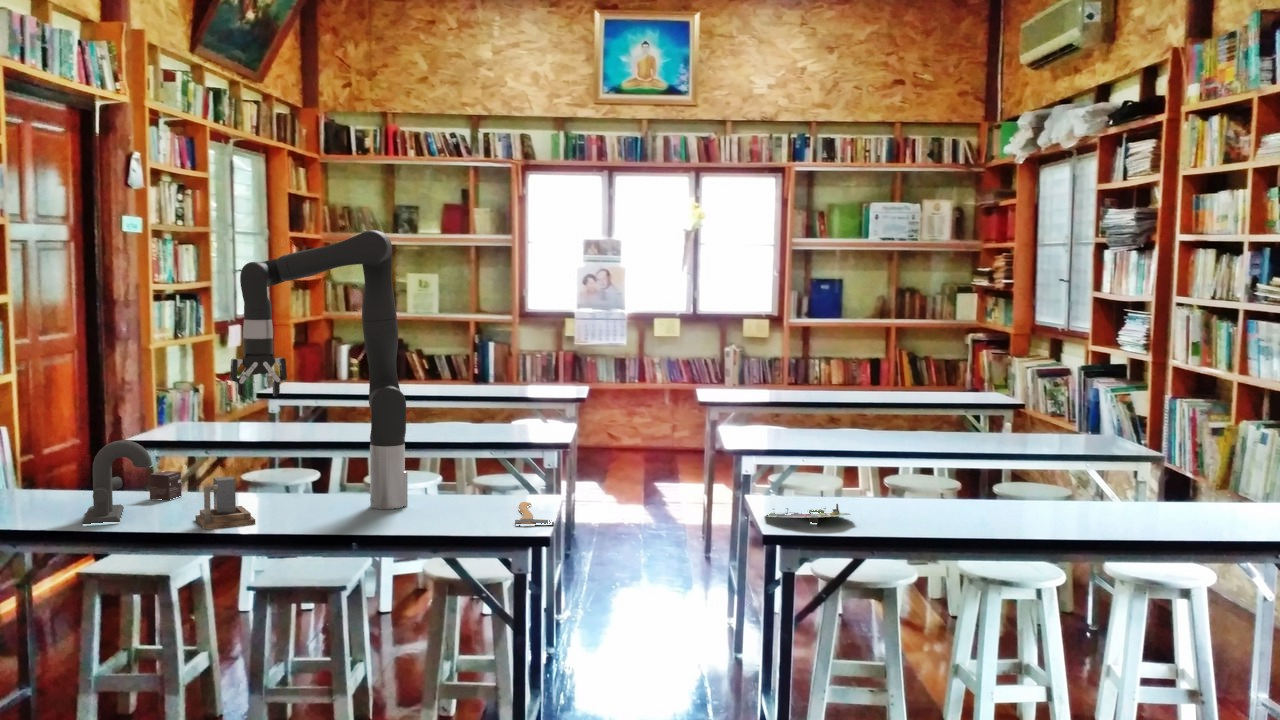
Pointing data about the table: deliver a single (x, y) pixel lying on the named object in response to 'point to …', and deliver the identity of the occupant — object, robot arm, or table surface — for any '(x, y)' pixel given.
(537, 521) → the tan hook stand
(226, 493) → the grey upright tablet
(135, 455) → the faucet
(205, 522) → the keeper
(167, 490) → the box
